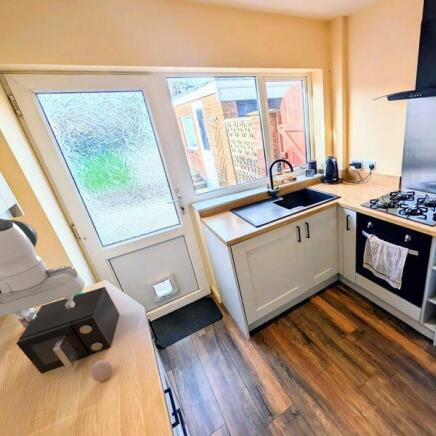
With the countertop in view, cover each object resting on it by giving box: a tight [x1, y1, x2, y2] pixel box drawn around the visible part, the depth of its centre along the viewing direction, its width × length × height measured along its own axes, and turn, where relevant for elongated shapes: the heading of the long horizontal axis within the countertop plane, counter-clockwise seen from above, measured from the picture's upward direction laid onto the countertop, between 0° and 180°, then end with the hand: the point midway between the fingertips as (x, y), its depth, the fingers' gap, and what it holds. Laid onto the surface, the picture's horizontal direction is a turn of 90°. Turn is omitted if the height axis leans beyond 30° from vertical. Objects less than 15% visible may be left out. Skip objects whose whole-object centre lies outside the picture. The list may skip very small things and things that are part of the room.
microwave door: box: [15, 323, 91, 375], centre depth 79 cm, size 7×14×15 cm, turn 114°
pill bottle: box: [16, 307, 38, 330], centre depth 100 cm, size 5×5×10 cm
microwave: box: [18, 286, 121, 355], centre depth 89 cm, size 18×20×15 cm
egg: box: [90, 359, 113, 382], centre depth 77 cm, size 5×5×7 cm
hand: (52, 312), depth 74 cm, fingers open, 8 cm apart
